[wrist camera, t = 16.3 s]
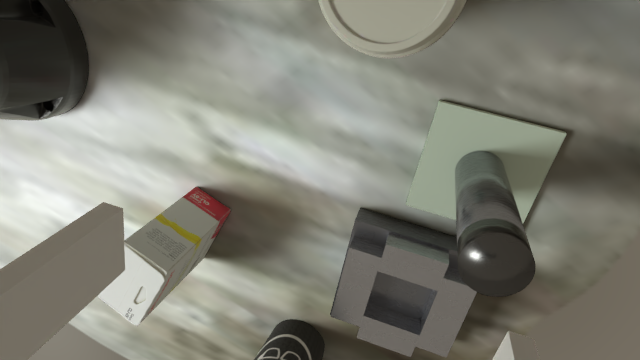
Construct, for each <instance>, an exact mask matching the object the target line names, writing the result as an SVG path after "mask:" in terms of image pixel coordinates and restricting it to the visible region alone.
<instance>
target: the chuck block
mask: <svg viewBox="0 0 640 360" xmlns="http://www.w3.org/2000/svg"><path fill="white" fill-rule="evenodd" d="M476 293H477V292H476V291H474V290H473V289H471V288H470V287H469V286H467V285H466V284H465V283H464V281H463V280H462V278H461V276H460V274H459V271H458V257H457V237H454V236H451V235H448V234H445V233H441V232H438V231H435V230H432V229H428V228H425V227H422V226H418V225H415V224H412V223H409V222H405V221H402V220H399V219H396V218H392V217H389V216H386V215H383V214H379V213H376V212H373V211H369V210H366V209H363V208H360V210H359V212H358V215H357V217H356V219H355V223H354V227H353V230H352V234H351V238H350V242H349V246H348V249H347V253H346V257H345V261H344V264H343V268H342V272H341V276H340V279H339V283H338V287H337V291H336V294H335V298H334V302H333V306H332V309H331V313H330V315H331V317H333V318H336V319H339V320H342V321H345V322H347V323H350V324H353V325H356V326H359V330H358V334H357V338H359V339H361V340H364V341H367V342H370V343H372V344H375V345H378V346H381V347H384V348H386V349H389V350H392V351H395V352H397V353H400V354H403V355H406V356H408V357H411V356H412V353H413V351H414V348H415V347H418V348H421V349H423V350H426V351H429V352H432V353H435V354H437V355H440V356H443V357H447V355H448V353H449V351H450V349H451V347H452V345H453V342H454V340H455V338H456V336H457V334H458V332H459V330H460V327H461V325H462V323H463V321H464V319H465V317H466V315H467V312H468V310H469V308H470V306H471V304H472V302H473V300H474V297H475V295H476Z"/></svg>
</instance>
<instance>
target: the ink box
mask: <svg viewBox="0 0 640 360" xmlns="http://www.w3.org/2000/svg"><path fill="white" fill-rule="evenodd" d="M230 211H231V210H230V209H229V208H228V207H226V206H224V205H223V204H221V203H220V202H219V201H217V200H216V199H214V198H213V197H211V196H210V195H208V194H207V193H205V192H204V191H202V190H201V189H199V188H198V187H195V188H194V189H192V190H191V191H190V192H188V193H187V194H186V195H185V196H183V197H182V198H181V199H179V200H178V201H177V202H175V203H174V204H173V205H171V206H170V207H169V208H167V209H166V210H165V211H163V212H162V213H161V214H159V215H158V216H157V217H156V218H154V219H153V220H151V221H150V222H149V223H147V224H146V225H145V226H143V227H142V228H141V229H139V230H138V231H137V232H135V233H134V234H133V235H131V236H130V237H129V238H127V239H126V240H125V241H124V251H125V271H124V272H123V273H121V274H120V275H119V276H118V277H117V278H116V279H115V280H114V281H113V282H112V283H111V284H109V285H108V286H107V287H106V288H105V289H104V290H103V291H102V292H101V293H100V294H99V296H98V298H99V299H100V300H102V301H103V302H104V303H106V304H107V305H108V306H110V307H111V308H112V309H114V310H115V311H116V312H118V313H119V314H120V315H122V316H123V317H124V318H125V319H127V320H128V321H129V322H130V323H132V324H133V325H136V326H138V325H139V324H140V323H141V322H142V321H143V320H144V319H145V318H146V317H147V316H148V315H149V314H150V313H151V312H152V311H153V310H154V309H155V308H156V307H157V306H158V305H159V303H160V302H161V301H162V300H163V299H164V298H165V297H166V296H167V295H168V294H169V293H170V292H171V291H172V290H173V289H174V288H175V287H176V286H177V285H178V284H179V283H180V282H181V281H182V280H183V279H184V278H185V277H186V276H187V275H188V274H189V273H190V272H191V271H192V270H193V269H194V268H195V267H196V266H197V265H198V264H199V262H200V261H202V259H203V258H204V257H205V255H206V253H207V252H208V250H209V248H210V246H211V244H212V243H213V241H214V239H215V237H216V236H217V234H218V232H219V230H220V229H221V227H222V225H223V223H224V222H225V220H226V218H227V216H228V215H229V213H230Z"/></svg>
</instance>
